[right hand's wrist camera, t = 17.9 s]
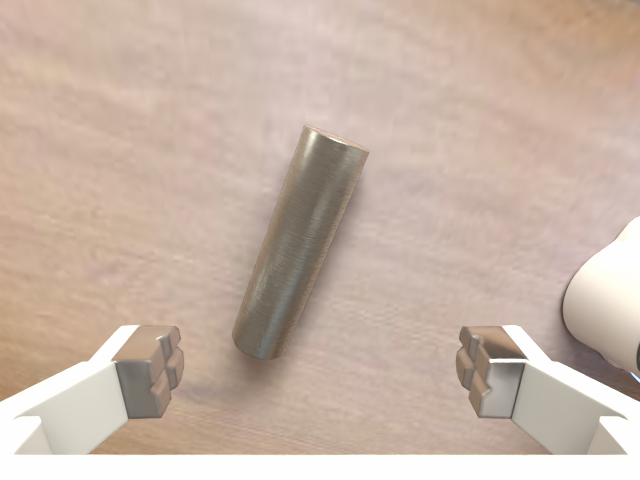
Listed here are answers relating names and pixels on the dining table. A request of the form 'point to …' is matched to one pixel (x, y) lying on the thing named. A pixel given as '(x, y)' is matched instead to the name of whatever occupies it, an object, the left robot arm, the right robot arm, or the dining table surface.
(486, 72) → the dining table surface
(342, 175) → the rod
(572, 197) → the dining table surface
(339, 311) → the dining table surface
